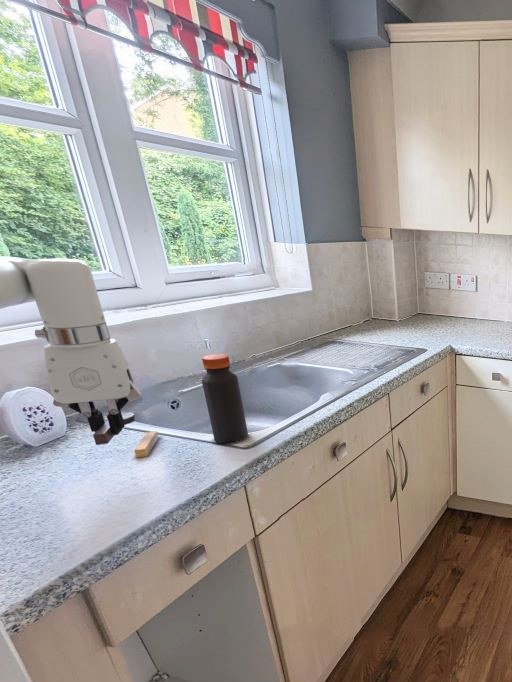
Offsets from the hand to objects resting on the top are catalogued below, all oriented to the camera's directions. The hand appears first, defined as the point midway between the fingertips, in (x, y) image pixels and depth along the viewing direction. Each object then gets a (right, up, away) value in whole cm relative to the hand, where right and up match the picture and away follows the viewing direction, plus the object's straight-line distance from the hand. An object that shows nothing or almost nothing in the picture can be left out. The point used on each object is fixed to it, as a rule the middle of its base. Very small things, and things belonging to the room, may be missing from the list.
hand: (109, 432), depth 83 cm
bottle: (+7, -3, +24) cm, 25 cm away
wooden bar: (-8, -5, +18) cm, 20 cm away
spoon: (-1, 0, +2) cm, 2 cm away
